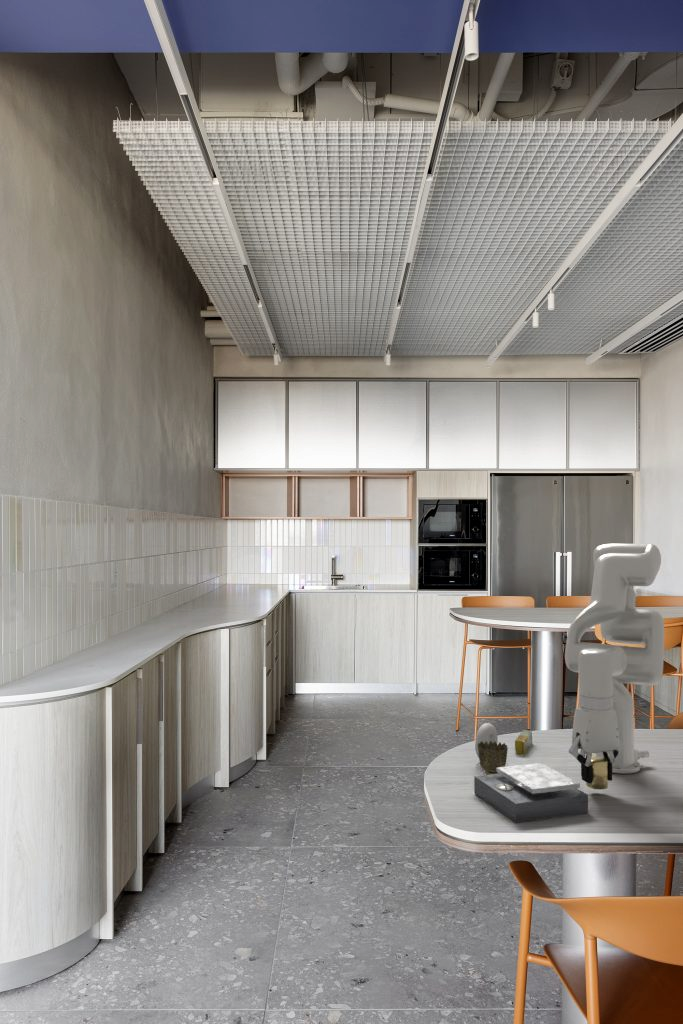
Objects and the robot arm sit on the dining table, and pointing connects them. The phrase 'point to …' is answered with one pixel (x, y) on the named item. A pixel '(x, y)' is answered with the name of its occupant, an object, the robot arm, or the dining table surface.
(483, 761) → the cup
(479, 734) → the grey rounded slab
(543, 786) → the scale pan
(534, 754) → the dining table surface
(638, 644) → the robot arm
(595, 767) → the brass weight
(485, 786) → the scale
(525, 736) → the medication box
